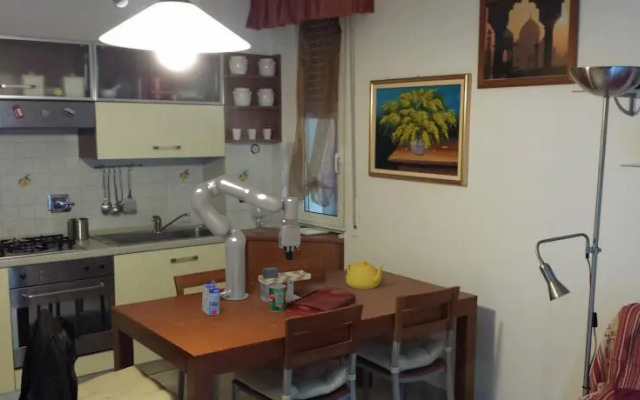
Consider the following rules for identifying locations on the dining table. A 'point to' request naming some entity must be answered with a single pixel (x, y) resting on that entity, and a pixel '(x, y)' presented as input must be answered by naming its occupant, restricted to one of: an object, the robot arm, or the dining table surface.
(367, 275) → the teapot
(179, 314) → the dining table surface
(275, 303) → the canned tomato
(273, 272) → the block
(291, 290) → the beam stand
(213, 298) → the ink cartridge box
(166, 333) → the dining table surface
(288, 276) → the balance beam
